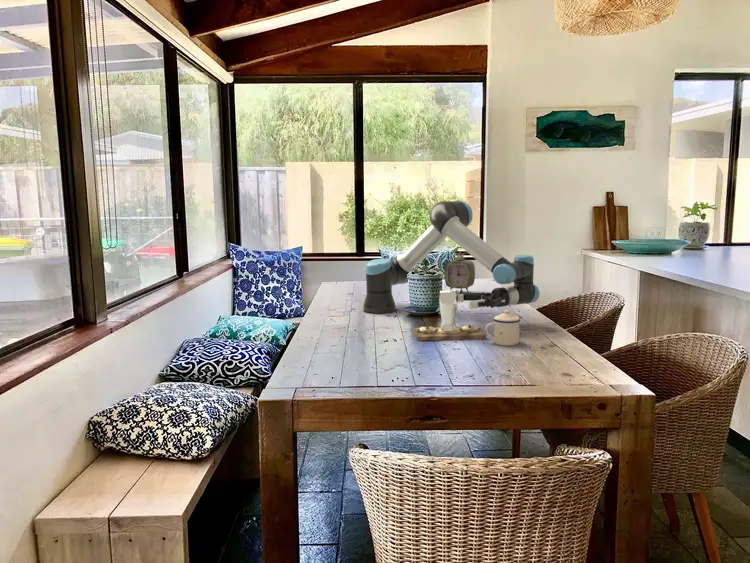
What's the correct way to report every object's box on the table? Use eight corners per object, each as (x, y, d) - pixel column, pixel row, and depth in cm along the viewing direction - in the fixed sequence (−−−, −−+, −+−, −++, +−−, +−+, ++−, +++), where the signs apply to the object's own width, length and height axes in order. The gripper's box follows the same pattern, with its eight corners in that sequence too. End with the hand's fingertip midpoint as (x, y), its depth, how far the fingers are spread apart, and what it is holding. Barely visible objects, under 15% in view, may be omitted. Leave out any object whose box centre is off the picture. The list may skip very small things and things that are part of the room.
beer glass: (460, 328, 212) (460, 289, 210) (454, 332, 206) (454, 292, 203) (442, 327, 215) (442, 288, 213) (436, 331, 208) (436, 291, 206)
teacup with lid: (515, 339, 202) (516, 307, 201) (522, 345, 193) (523, 312, 192) (482, 340, 202) (483, 308, 201) (488, 346, 193) (488, 313, 192)
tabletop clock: (444, 293, 299) (444, 247, 296) (450, 291, 307) (450, 245, 303) (470, 295, 293) (470, 248, 289) (475, 293, 300) (476, 246, 297)
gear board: (417, 340, 203) (417, 330, 202) (413, 331, 217) (413, 322, 216) (485, 338, 204) (485, 329, 203) (477, 329, 218) (477, 320, 217)
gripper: (525, 311, 209) (479, 317, 200) (484, 301, 231) (441, 306, 222) (526, 291, 208) (479, 297, 199) (484, 283, 230) (441, 287, 221)
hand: (459, 302), depth 210 cm, fingers open, 13 cm apart
